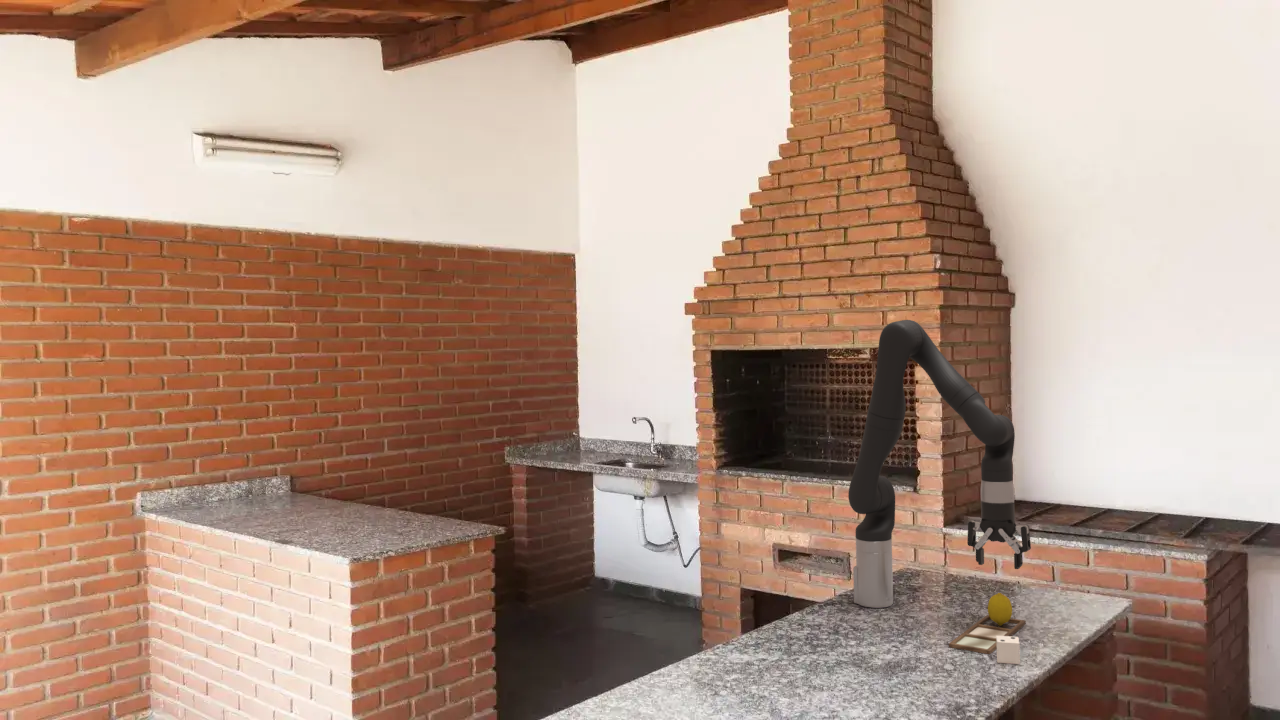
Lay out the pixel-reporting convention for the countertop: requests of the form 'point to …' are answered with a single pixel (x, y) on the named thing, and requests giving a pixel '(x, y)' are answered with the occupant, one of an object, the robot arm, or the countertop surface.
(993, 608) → the lemon
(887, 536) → the robot arm
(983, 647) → the board
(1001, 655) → the die
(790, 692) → the countertop surface
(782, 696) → the countertop surface
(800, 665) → the countertop surface
